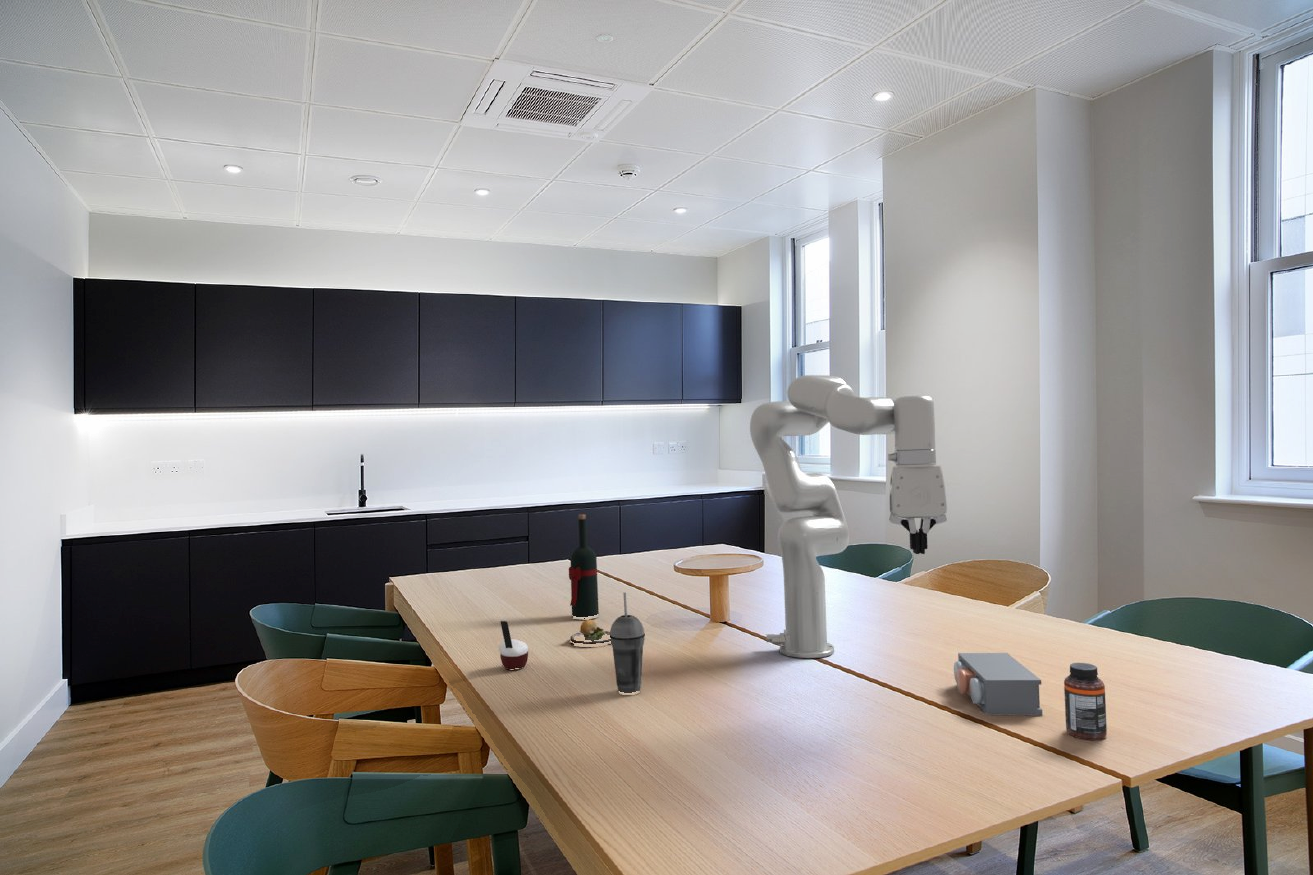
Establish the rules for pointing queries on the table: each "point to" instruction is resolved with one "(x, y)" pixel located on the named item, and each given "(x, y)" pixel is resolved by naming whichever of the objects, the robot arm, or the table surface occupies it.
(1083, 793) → the table surface
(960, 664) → the plug far
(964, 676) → the plug terracotta
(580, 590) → the wine bottle
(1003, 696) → the socket block
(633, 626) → the beverage cup
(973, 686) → the plug near
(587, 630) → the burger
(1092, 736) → the supplement bottle
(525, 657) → the cocoa
